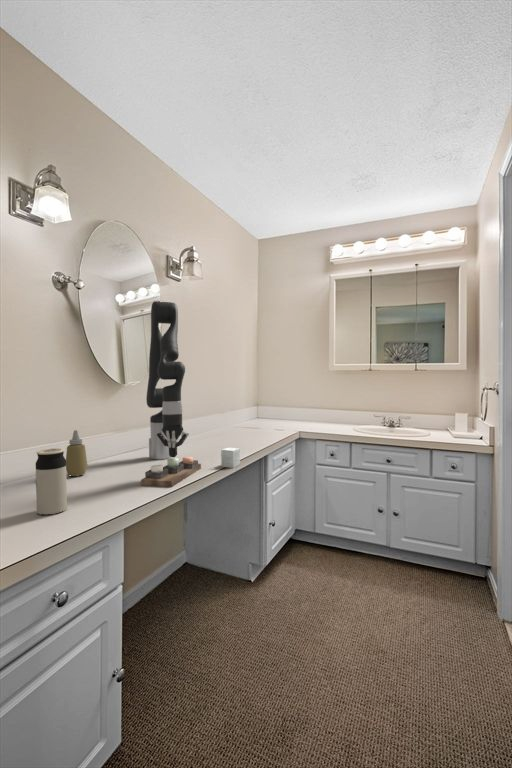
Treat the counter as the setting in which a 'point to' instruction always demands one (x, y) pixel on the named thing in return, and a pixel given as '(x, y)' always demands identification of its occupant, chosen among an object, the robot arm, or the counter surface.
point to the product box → (230, 457)
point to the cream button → (157, 468)
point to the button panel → (170, 474)
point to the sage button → (173, 462)
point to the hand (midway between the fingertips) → (173, 456)
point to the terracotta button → (188, 460)
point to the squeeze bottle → (76, 456)
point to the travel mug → (51, 481)
